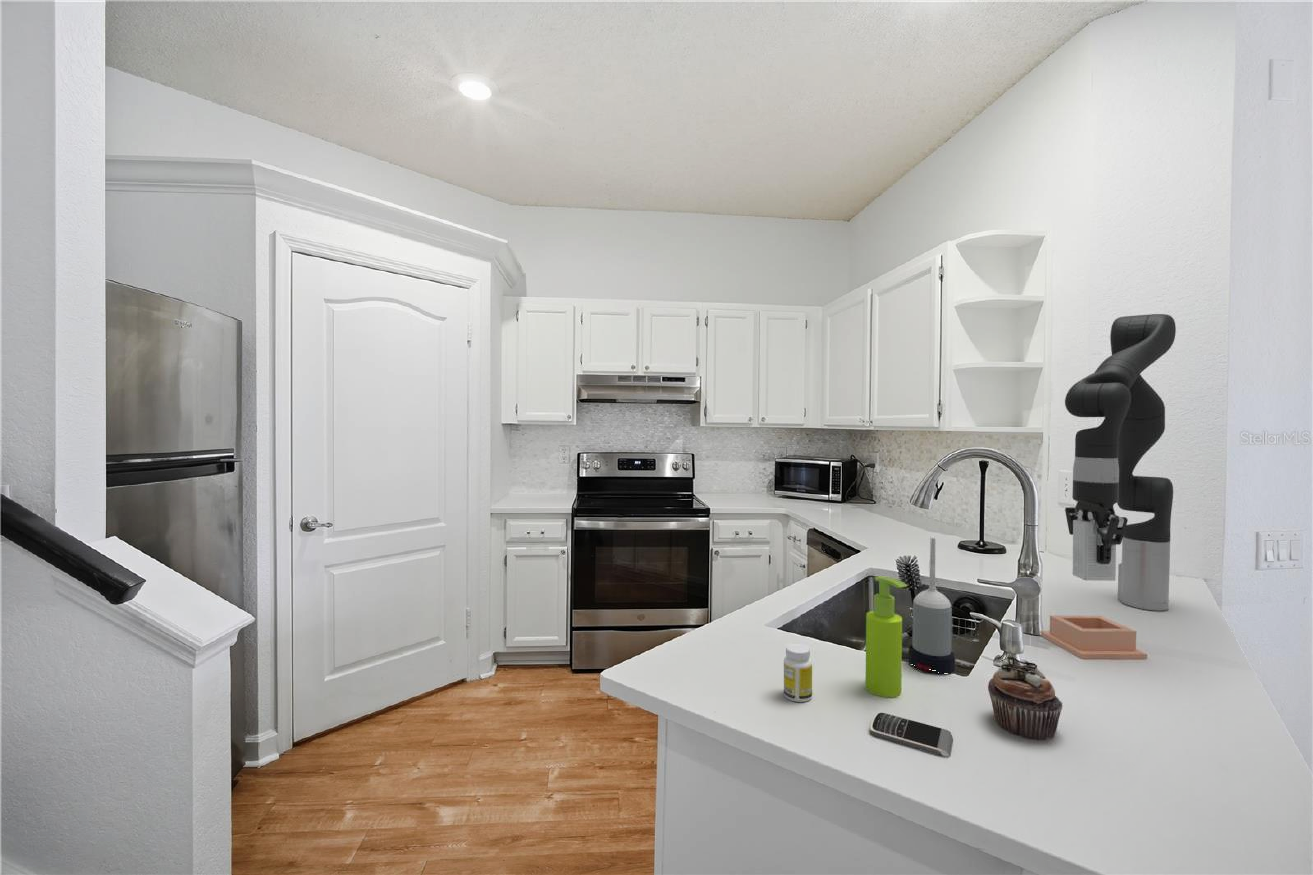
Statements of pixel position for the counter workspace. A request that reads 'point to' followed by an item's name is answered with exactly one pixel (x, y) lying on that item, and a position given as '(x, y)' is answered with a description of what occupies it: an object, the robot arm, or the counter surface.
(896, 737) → the cell phone
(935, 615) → the grey toilet brush
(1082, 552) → the skincare box
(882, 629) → the soap dispenser
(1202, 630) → the counter surface
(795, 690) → the supplement bottle
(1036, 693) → the cupcake
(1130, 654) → the tan open box
